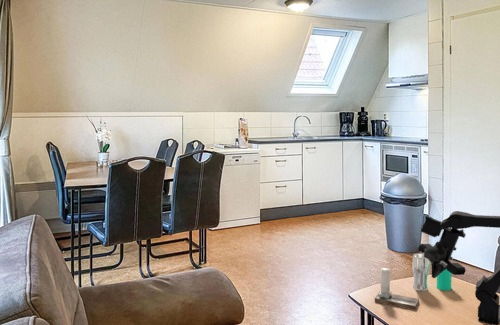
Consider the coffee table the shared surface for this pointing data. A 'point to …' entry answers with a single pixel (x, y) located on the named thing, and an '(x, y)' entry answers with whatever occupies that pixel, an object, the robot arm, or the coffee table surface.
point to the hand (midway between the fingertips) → (433, 277)
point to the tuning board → (399, 301)
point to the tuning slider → (385, 283)
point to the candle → (444, 280)
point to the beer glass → (420, 272)
